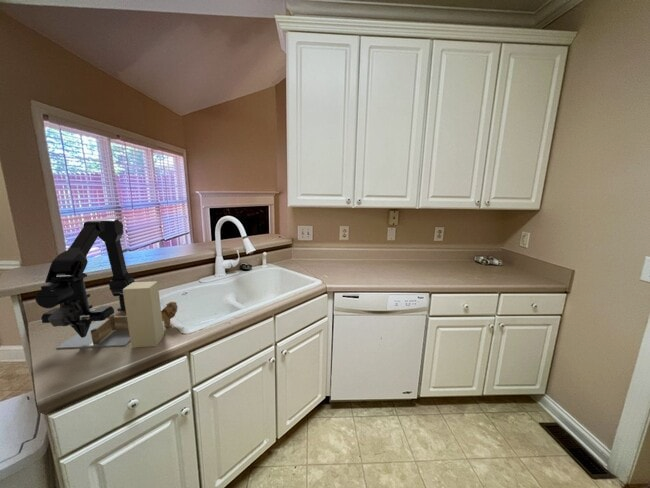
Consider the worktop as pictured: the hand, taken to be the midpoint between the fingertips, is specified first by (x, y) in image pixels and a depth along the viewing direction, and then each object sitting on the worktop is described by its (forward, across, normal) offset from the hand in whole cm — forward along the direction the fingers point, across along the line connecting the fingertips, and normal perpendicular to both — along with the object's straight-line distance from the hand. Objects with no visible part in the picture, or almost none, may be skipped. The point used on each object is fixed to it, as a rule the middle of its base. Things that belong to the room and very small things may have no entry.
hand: (83, 336), depth 92 cm
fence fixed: (+2, +9, +8) cm, 12 cm away
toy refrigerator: (+3, +21, 0) cm, 21 cm away
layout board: (+2, +4, +7) cm, 8 cm away
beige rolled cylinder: (+2, +4, +2) cm, 5 cm away
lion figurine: (+3, +20, +9) cm, 22 cm away
